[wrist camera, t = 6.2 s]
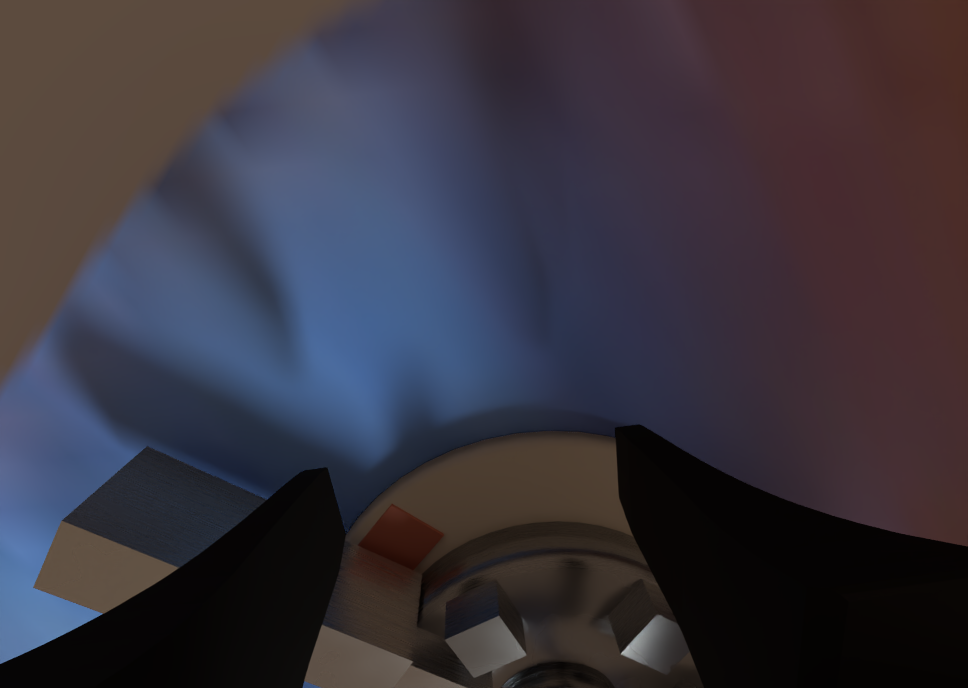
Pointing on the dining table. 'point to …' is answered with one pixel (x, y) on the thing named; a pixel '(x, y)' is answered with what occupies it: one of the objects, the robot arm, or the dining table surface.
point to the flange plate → (493, 494)
